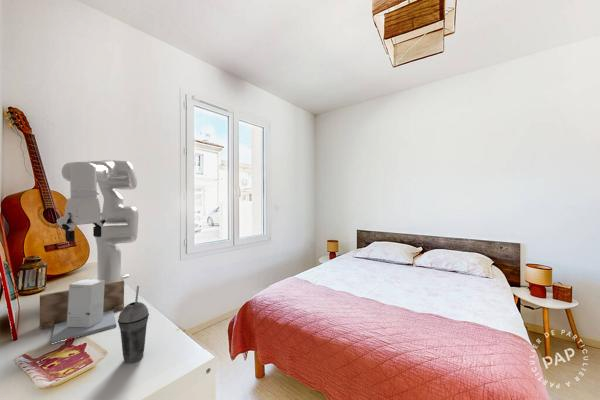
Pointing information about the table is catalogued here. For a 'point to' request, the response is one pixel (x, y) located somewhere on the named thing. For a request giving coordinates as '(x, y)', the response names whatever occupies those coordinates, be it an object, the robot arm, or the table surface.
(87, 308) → the skincare box
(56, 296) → the walnut screen
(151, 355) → the table surface
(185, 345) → the table surface
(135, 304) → the beverage cup
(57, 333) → the mat
